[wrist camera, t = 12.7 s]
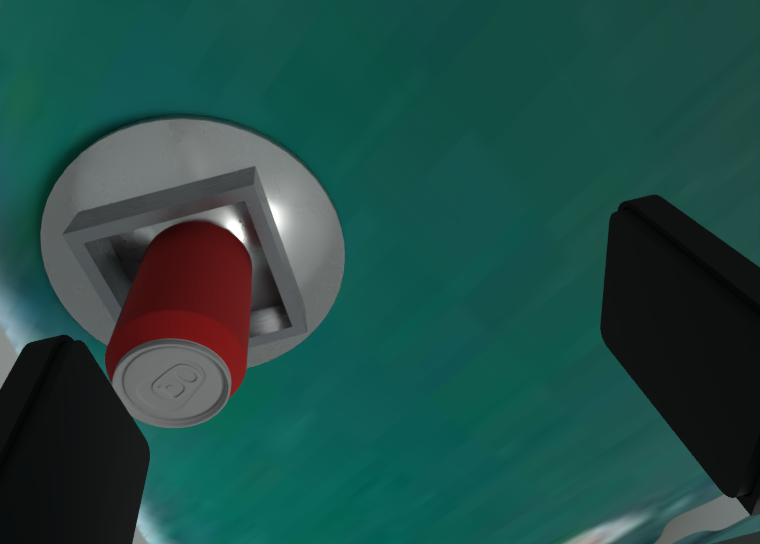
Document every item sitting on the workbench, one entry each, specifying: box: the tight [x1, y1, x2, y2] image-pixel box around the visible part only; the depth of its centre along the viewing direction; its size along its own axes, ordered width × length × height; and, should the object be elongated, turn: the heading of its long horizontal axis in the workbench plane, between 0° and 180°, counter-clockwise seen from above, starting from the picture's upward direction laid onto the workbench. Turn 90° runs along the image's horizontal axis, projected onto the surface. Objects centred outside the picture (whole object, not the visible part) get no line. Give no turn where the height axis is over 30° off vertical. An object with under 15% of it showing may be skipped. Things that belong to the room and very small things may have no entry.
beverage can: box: [105, 221, 252, 428], centre depth 31 cm, size 7×7×12 cm
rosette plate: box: [40, 114, 345, 368], centre depth 35 cm, size 19×19×4 cm
